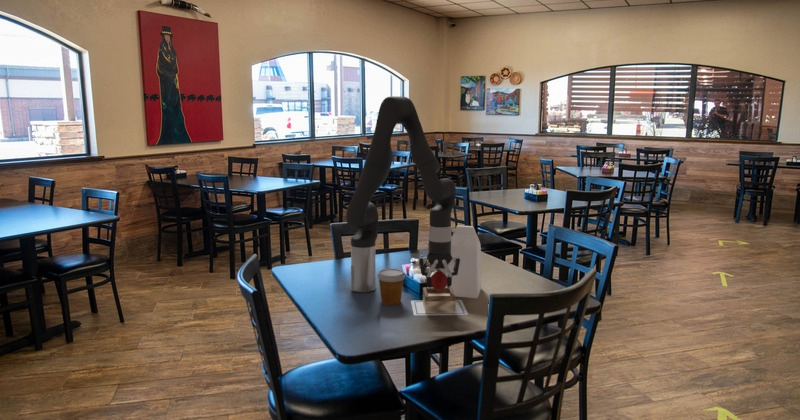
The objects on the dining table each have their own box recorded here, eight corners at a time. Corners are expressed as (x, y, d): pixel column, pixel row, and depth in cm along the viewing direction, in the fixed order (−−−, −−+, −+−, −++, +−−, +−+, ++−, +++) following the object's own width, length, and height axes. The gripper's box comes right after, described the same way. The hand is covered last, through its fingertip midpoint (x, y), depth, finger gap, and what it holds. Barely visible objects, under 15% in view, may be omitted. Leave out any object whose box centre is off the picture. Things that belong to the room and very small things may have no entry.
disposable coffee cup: (389, 298, 200) (389, 266, 198) (410, 304, 194) (410, 271, 192) (371, 305, 193) (371, 272, 190) (392, 312, 187) (392, 278, 185)
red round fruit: (446, 288, 190) (446, 266, 188) (448, 294, 184) (448, 271, 183) (429, 288, 190) (429, 266, 188) (430, 294, 184) (431, 271, 183)
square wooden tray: (425, 312, 183) (425, 297, 182) (422, 302, 193) (422, 287, 192) (455, 312, 183) (455, 296, 182) (451, 302, 193) (451, 287, 192)
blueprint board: (413, 318, 181) (413, 315, 181) (410, 303, 195) (410, 300, 194) (468, 318, 182) (468, 314, 182) (461, 303, 195) (461, 299, 195)
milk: (481, 291, 208) (483, 224, 204) (477, 301, 197) (479, 230, 193) (449, 288, 211) (451, 222, 207) (444, 298, 201) (445, 228, 196)
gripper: (419, 241, 180) (418, 290, 183) (463, 241, 180) (461, 290, 183) (417, 236, 187) (416, 283, 190) (459, 236, 188) (458, 283, 191)
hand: (438, 286), depth 187 cm, fingers closed on red round fruit, 6 cm apart
